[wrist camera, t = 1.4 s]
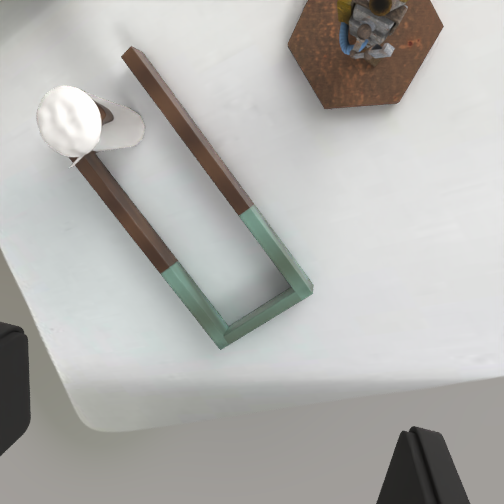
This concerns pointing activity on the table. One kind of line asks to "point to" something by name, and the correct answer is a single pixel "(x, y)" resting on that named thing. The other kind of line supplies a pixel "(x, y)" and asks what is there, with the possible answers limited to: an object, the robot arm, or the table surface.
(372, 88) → the robot figurine
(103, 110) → the milkshake
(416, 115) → the table surface
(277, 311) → the slide track
